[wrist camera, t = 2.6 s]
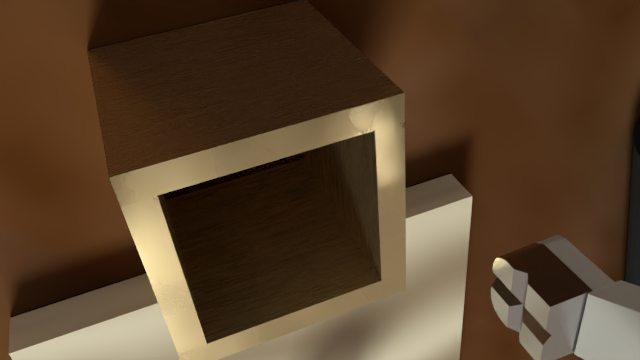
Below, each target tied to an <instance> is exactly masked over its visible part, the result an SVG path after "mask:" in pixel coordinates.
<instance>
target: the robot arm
mask: <svg viewBox="0 0 640 360" xmlns="http://www.w3.org/2000/svg"><path fill="white" fill-rule="evenodd" d="M493 272H494V273H495V274H496V276H497V278H496V280H495V281H494V283H493V284H492V286H491V299H492V303H493V306H494V309H495V311H496V313H497V314H498V316H499V318H500V319H501V320H502V322H503V323H504V324H505V325H506V327H508V328H511V329H513V330H516V331H518V332H519V336H520V343H521V345H522V346H523V347H524V348H525V349H526V350H527V352H528V353H529V354H530V355H531V356H532V358H533V359H534V360H555V359H558V358H560V357H563V356H566V355H568V354H571V353H573V352H575V353H574V354H575V355H577V356H579V357H581V358H582V359H584V360H640V286H637V285H634V284H631V283H628V282H625V281H622V280H620V281H617V282H614V281H613V280H612V279H611V278H609V277H608V276H607V275H606V274H605V273H604V272H603V271H602V270H600V269H599V268H598V267H597V266H596V265H595V264H594V263H593V262H591V261H590V260H589V259H588V258H587V257H586V256H585V255H583V254H582V253H581V252H580V251H579V250H578V249H577V248H576V247H574V246H573V245H572V244H571V243H570V242H569V241H568V240H567V239H565V238H564V237H562V236H559V235H556V236H553V237H551V238H548V239H545V240H543V241H540V242H538V243H533V244H531V245H528V246H526V247H523V248H521V249H518V250H515V251H513V252H510V253H508V254H505V255H503V256H500V257H498V258H496V260H495V261H494V264H493Z"/></svg>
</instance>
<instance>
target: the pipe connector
mask: <svg viewBox="0 0 640 360" xmlns="http://www.w3.org/2000/svg"><path fill="white" fill-rule="evenodd" d="M625 282H628V283H631V284H634V285H637V286H640V123H639V124H638V126H637V127H636V130H635V133H634V139H633V156H632V173H631V190H630V207H629V224H628V241H627V258H626V275H625Z"/></svg>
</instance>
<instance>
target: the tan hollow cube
mask: <svg viewBox="0 0 640 360" xmlns="http://www.w3.org/2000/svg"><path fill="white" fill-rule="evenodd" d="M87 53H88V59H89V64H90V70H91V76H92V81H93V87H94V93H95V99H96V104H97V110H98V116H99V122H100V127H101V133H102V139H103V144H104V150H105V156H106V162H107V167H108V173H109V178H110V181H111V183H112V186H113V188H114V191H115V194H116V196H117V199H118V201H119V204H120V206H121V209H122V211H123V214H124V217H125V219H126V222H127V224H128V227H129V229H130V232H131V235H132V237H133V240H134V242H135V245H136V247H137V250H138V253H139V255H140V258H141V260H142V263H143V265H144V268H145V270H146V273H147V276H148V278H149V281H150V283H151V286H152V288H153V291H154V294H155V296H156V299H157V301H158V304H159V306H160V309H161V312H162V314H163V317H164V319H165V322H166V324H167V327H168V330H169V332H170V335H171V337H172V340H173V342H174V345H175V347H176V350H177V353H178V355H179V358H180V360H218V359H221V358H224V357H227V356H229V355H232V354H235V353H237V352H240V351H243V350H245V349H248V348H251V347H254V346H256V345H259V344H262V343H264V342H267V341H270V340H272V339H275V338H278V337H281V336H283V335H286V334H289V333H291V332H294V331H297V330H299V329H302V328H305V327H308V326H310V325H313V324H316V323H318V322H321V321H324V320H326V319H329V318H332V317H335V316H337V315H340V314H343V313H345V312H348V311H351V310H353V309H356V308H359V307H361V306H364V305H367V304H370V303H372V302H375V301H378V300H380V299H383V298H386V297H388V296H391V295H394V294H397V293H399V292H402V291H405V290H406V203H405V93H404V92H403V91H402V90H401V89H400V88H399V87H398V86H397V85H396V84H395V83H394V82H392V81H391V80H390V79H389V78H388V77H387V76H386V75H385V74H384V73H383V72H382V71H381V70H380V69H379V68H378V67H377V66H376V65H375V64H373V63H372V62H371V61H370V60H369V59H368V58H367V57H366V56H365V55H364V54H363V53H362V52H361V51H360V50H359V49H358V48H357V47H355V46H354V45H353V44H352V43H351V42H350V41H349V40H348V39H347V38H346V37H345V36H344V35H343V34H342V33H341V32H340V31H339V30H337V29H336V28H335V27H334V26H333V25H332V24H331V23H330V22H329V21H328V20H327V19H326V18H325V17H324V16H323V15H322V14H321V13H320V12H318V11H317V10H316V9H315V8H314V7H313V6H312V5H311V4H310V3H309V2H308V1H307V0H298V1H294V2H290V3H286V4H281V5H277V6H273V7H269V8H264V9H260V10H256V11H252V12H248V13H243V14H239V15H235V16H231V17H226V18H222V19H218V20H214V21H210V22H205V23H201V24H197V25H193V26H188V27H184V28H180V29H176V30H171V31H167V32H163V33H159V34H155V35H150V36H146V37H142V38H138V39H133V40H129V41H125V42H121V43H117V44H112V45H108V46H104V47H100V48H95V49H91V50H87ZM298 153H302V157H303V159H299V160H296V161H293V162H290V163H286V164H283V165H280V166H276V167H273V168H270V169H266V170H263V171H260V172H256V173H253V174H250V175H246V176H243V177H240V178H236V179H233V180H230V181H227V182H223V183H220V184H217V185H213V186H210V187H207V188H203V189H200V190H197V191H193V192H190V193H187V194H183V195H180V196H177V197H173V198H170V199H167V200H165V197H164V194H165V193H168V192H171V191H175V190H178V189H181V188H185V187H188V186H191V185H195V184H198V183H201V182H205V181H208V180H211V179H215V178H218V177H222V176H225V175H228V174H232V173H235V172H238V171H242V170H245V169H248V168H252V167H255V166H258V165H262V164H265V163H268V162H272V161H275V160H278V159H282V158H285V157H288V156H292V155H295V154H298Z"/></svg>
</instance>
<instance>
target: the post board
mask: <svg viewBox="0 0 640 360" xmlns="http://www.w3.org/2000/svg"><path fill="white" fill-rule="evenodd" d="M405 203H406V290H405V291H402V292H399V293H397V294H394V295H391V296H388V297H386V298H383V299H380V300H378V301H375V302H372V303H370V304H367V305H364V306H361V307H359V308H356V309H353V310H351V311H348V312H345V313H343V314H340V315H337V316H335V317H332V318H329V319H326V320H324V321H321V322H318V323H316V324H313V325H310V326H308V327H305V328H302V329H299V330H297V331H294V332H291V333H289V334H286V335H283V336H281V337H278V338H275V339H272V340H270V341H267V342H264V343H262V344H259V345H256V346H254V347H251V348H248V349H245V350H243V351H240V352H237V353H235V354H232V355H229V356H227V357H224V358H221V359H218V360H459V359H460V346H461V334H462V321H463V309H464V296H465V284H466V271H467V259H468V246H469V234H470V221H471V209H472V195H471V194H470V193H469V192H468V191H467V190H466V189H465V188H464V187H463V186H462V185H461V184H460V183H459V182H458V180H457V179H456V178H455V177H454V176H453V175H452V174H448V175H445V176H442V177H439V178H436V179H433V180H430V181H427V182H424V183H421V184H418V185H415V186H411V187H408V188H405ZM9 355H10V356H11V358H12V359H13V360H180V358H179V355H178V353H177V350H176V347H175V345H174V342H173V340H172V337H171V335H170V332H169V330H168V327H167V324H166V322H165V319H164V317H163V314H162V312H161V309H160V306H159V304H158V301H157V299H156V296H155V294H154V291H153V288H152V286H151V283H150V281H149V278H148V276H147V273H146V274H143V275H140V276H137V277H133V278H130V279H127V280H124V281H121V282H118V283H115V284H112V285H109V286H106V287H103V288H100V289H97V290H94V291H91V292H88V293H85V294H82V295H78V296H75V297H72V298H69V299H66V300H63V301H60V302H57V303H54V304H51V305H48V306H45V307H42V308H39V309H36V310H33V311H30V312H27V313H23V314H20V315H17V316H14V317H11V318H10V336H9Z"/></svg>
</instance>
